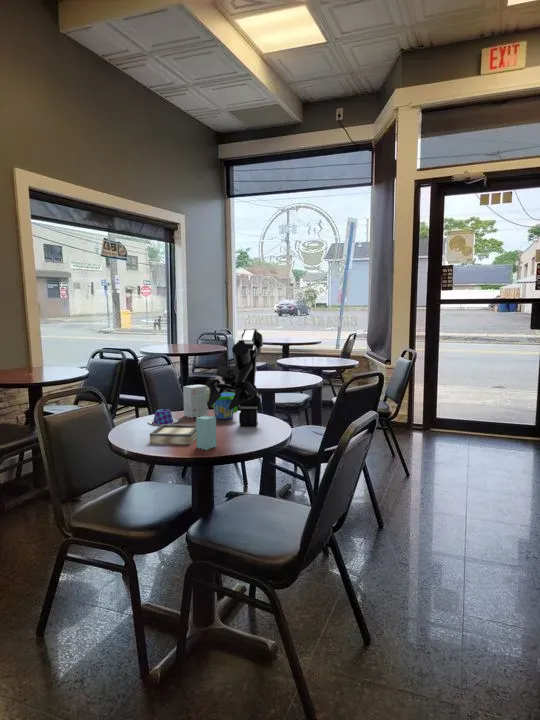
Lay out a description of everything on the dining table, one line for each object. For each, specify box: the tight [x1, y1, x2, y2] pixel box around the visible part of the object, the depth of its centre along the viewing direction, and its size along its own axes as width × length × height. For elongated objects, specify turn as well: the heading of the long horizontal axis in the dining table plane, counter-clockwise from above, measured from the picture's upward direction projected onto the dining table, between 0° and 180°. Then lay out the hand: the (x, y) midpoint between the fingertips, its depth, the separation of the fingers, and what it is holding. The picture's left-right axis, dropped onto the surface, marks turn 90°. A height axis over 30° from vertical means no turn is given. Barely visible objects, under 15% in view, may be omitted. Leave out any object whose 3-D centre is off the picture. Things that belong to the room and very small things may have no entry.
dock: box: [149, 423, 197, 445], centre depth 165 cm, size 14×14×3 cm
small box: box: [182, 384, 208, 419], centre depth 201 cm, size 8×6×13 cm
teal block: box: [195, 414, 217, 451], centre depth 154 cm, size 4×4×10 cm
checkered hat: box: [147, 408, 179, 426], centre depth 190 cm, size 12×12×5 cm
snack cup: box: [210, 391, 239, 420], centre depth 197 cm, size 16×11×10 cm
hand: (218, 407), depth 158 cm, fingers open, 9 cm apart
